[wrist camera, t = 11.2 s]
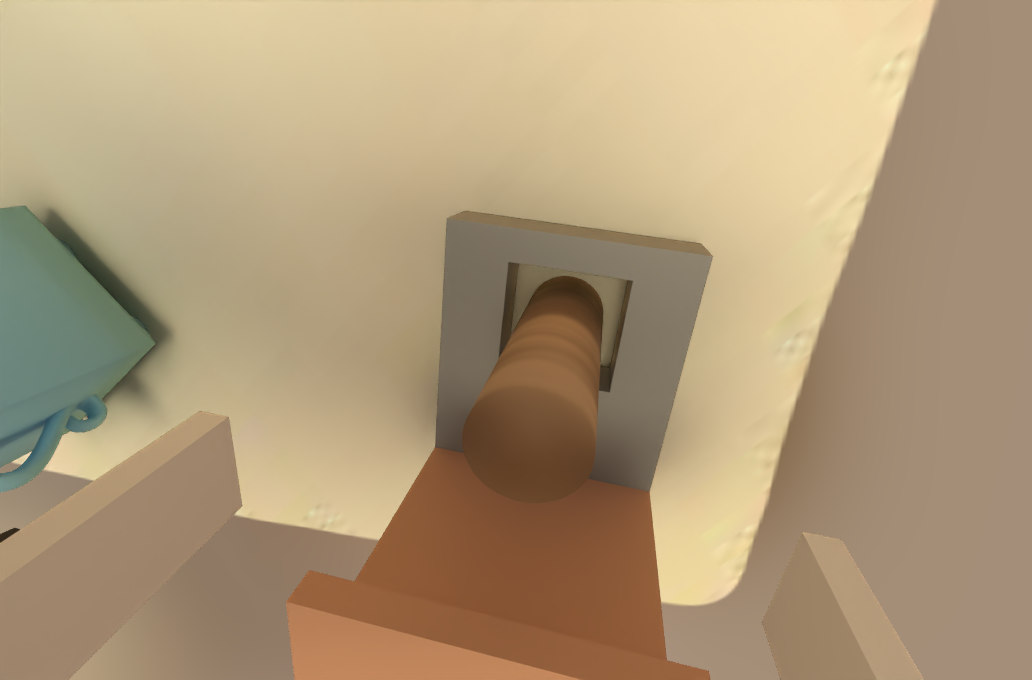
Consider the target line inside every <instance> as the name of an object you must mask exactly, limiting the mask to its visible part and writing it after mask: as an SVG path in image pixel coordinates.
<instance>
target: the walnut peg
mask: <svg viewBox="0 0 1032 680" xmlns="http://www.w3.org/2000/svg"><path fill="white" fill-rule="evenodd" d="M602 324H603V306H602V302H601V299H600V297H599V295H598V293H597V292H596V291H595V289H594V288H593V287H592V286H591V285H589V284H588V283H587V282H585V281H583V280H581V279H578V278H575V277H570V276H561V277H556V278H552V279H550V280H548V281H546V282H544V283H543V284H542V285H541V286H540V287H539V288H538V289H537V290H536V291H535V293H534V294H533V296H532V298H531V300H530V302H529V304H528V306H527V307H526V309H525V311H524V313H523V315H522V317H521V319H520V320H519V322H518V324H517V326H516V328H515V330H514V332H513V333H512V335H511V337H510V339H509V341H508V343H507V345H506V346H505V348H504V350H503V352H502V354H501V356H500V358H499V359H498V361H497V363H496V365H495V367H494V369H493V370H492V372H491V374H490V376H489V378H488V380H487V382H486V383H485V385H484V387H483V389H482V391H481V393H480V395H479V396H478V398H477V400H476V402H475V404H474V406H473V408H472V409H471V411H470V413H469V415H468V417H467V419H466V421H465V424H464V427H463V433H462V445H463V451H464V455H465V458H466V460H467V462H468V464H469V466H470V468H471V469H472V471H473V472H474V474H475V475H476V476H477V477H478V478H479V479H480V480H481V481H482V482H483V483H484V484H485V485H486V486H487V487H489V488H490V489H492V490H493V491H495V492H496V493H498V494H500V495H502V496H504V497H507V498H509V499H512V500H516V501H520V502H526V503H546V502H552V501H556V500H559V499H562V498H564V497H567V496H568V495H570V494H572V493H573V492H575V491H576V490H577V489H579V488H580V487H581V486H582V485H583V484H584V482H585V481H586V480H587V478H588V477H589V475H590V473H591V471H592V468H593V465H594V461H595V452H596V433H597V415H598V397H599V379H600V361H601V342H602Z"/></svg>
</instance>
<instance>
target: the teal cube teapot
mask: <svg viewBox="0 0 1032 680" xmlns="http://www.w3.org/2000/svg"><path fill="white" fill-rule="evenodd" d="M155 344H156V342H155V341H154V340H153V339H152V337H151V336H150V335H149V333H148V330H147V329H146V327H145V326H144V324H143V323H142V322H141V321H140V320H138V319H137V318H135V317H133V316H130V315H129V313H128V312H127V311H126V310H125V309H124V308H123V307H122V306H121V305H120V304H119V303H118V302H117V301H116V300H115V299H114V298H113V297H112V296H111V295H110V294H109V293H108V292H107V291H106V290H105V288H104V287H103V286H102V285H101V284H100V283H99V282H98V281H97V280H96V279H95V278H94V277H93V276H92V275H91V274H90V273H89V272H88V271H87V270H86V269H85V268H84V267H83V266H82V264H81V263H80V262H79V261H78V260H77V259H76V257H75V254H74V253H73V251H72V249H71V248H70V247H69V246H68V245H67V244H66V243H65V242H63V241H62V240H60V239H57V238H56V237H55V236H54V235H53V234H52V233H51V232H50V231H49V230H48V229H47V228H46V227H45V226H44V225H43V224H42V223H41V222H40V221H39V220H38V219H37V217H36V216H35V215H34V214H33V213H32V212H31V211H30V210H29V209H28V208H27V207H26V206H20V207H9V208H0V467H2V466H4V465H6V464H8V463H10V462H12V461H14V460H16V459H17V458H19V457H21V456H23V455H25V454H27V453H29V452H31V451H32V453H31V454H30V456H29V457H28V458H27V460H26V461H25V462H24V463H23V464H22V465H21V466H20V467H19V468H17V469H16V470H14V471H12V472H7V473H0V492H5V491H9V490H12V489H15V488H18V487H20V486H22V485H24V484H26V483H27V482H29V481H31V480H32V479H33V478H35V477H36V476H37V475H38V474H39V473H40V472H41V471H42V470H43V469H44V467H45V466H46V465H47V464H48V462H49V461H50V459H51V457H52V456H53V454H54V452H55V450H56V448H57V446H58V444H59V441H60V439H61V437H62V435H64V434H66V433H68V432H70V431H72V432H86V431H90V430H92V429H95V428H96V427H98V426H99V425H100V424H101V423H102V422H103V421H104V420H105V418H106V415H107V408H106V405H105V404H104V402H103V401H102V399H103V398H104V397H105V396H106V395H107V394H108V393H109V392H110V391H111V390H112V388H113V387H114V386H115V385H116V384H117V383H118V382H119V381H120V380H121V379H122V378H123V377H124V376H125V375H126V374H127V373H128V372H129V371H130V370H131V369H132V368H133V367H134V366H135V365H136V364H137V363H138V362H139V361H140V360H141V359H142V358H143V357H144V356H145V355H146V353H147V352H148V351H149V350H150V349H151V348H152V347H153V346H154V345H155ZM86 415H87V417H88V419H87V420H82V419H83V418H84V417H85V416H86Z"/></svg>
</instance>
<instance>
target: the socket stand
mask: <svg viewBox="0 0 1032 680" xmlns="http://www.w3.org/2000/svg"><path fill="white" fill-rule="evenodd" d="M712 257H713V256H712V255H711V254H710V253H709V252H708V251H707V250H706V248H705V247H704V246H703V245H702V244H699V243H692V242H685V241H677V240H670V239H663V238H656V237H649V236H642V235H634V234H627V233H620V232H613V231H606V230H599V229H592V228H584V227H577V226H570V225H563V224H556V223H549V222H541V221H534V220H527V219H520V218H513V217H506V216H498V215H491V214H484V213H477V212H470V211H464V212H461V213H459V214H456V215H454V216H452V217H449V218H447V229H446V248H445V267H444V287H443V306H442V325H441V345H440V364H439V384H438V403H437V422H436V442H435V448H434V450H433V452H432V453H431V455H430V457H429V458H428V460H427V462H426V463H425V465H424V467H423V468H422V470H421V472H420V473H419V475H418V477H417V478H416V480H415V482H414V483H413V485H412V487H411V488H410V490H409V492H408V493H407V495H406V497H405V498H404V500H403V502H402V503H401V505H400V507H399V508H398V510H397V512H396V513H395V515H394V517H393V518H392V520H391V522H390V523H389V525H388V527H387V528H386V530H385V532H384V533H383V535H382V537H381V538H380V540H379V542H378V543H377V545H376V547H375V548H374V550H373V552H372V553H371V555H370V557H369V558H368V560H367V562H366V563H365V565H364V567H363V568H362V570H361V572H360V573H359V575H358V577H357V578H356V580H355V582H354V581H350V580H346V579H342V578H338V577H334V576H330V575H327V574H323V573H319V572H314V571H311V570H310V571H308V573H307V574H306V575H305V577H304V578H303V580H302V581H301V582H300V584H299V585H298V587H297V588H296V589H295V591H294V592H293V593H292V595H291V596H290V597H289V599H288V600H287V602H286V604H287V613H288V622H289V632H290V641H291V650H292V659H293V669H294V677H295V680H710V675H709V671H707V670H702V669H699V668H694V667H690V666H687V665H682V664H679V663H675V662H671V661H667V658H666V648H665V638H664V629H663V619H662V609H661V599H660V589H659V580H658V570H657V560H656V551H655V541H654V531H653V521H652V512H651V502H650V492H649V491H650V488H651V484H652V480H653V477H654V473H655V469H656V465H657V462H658V458H659V454H660V451H661V447H662V443H663V439H664V436H665V432H666V428H667V424H668V421H669V417H670V413H671V410H672V406H673V402H674V398H675V395H676V391H677V387H678V384H679V380H680V376H681V372H682V369H683V365H684V361H685V358H686V354H687V350H688V346H689V343H690V339H691V335H692V331H693V328H694V324H695V320H696V317H697V313H698V309H699V305H700V302H701V298H702V294H703V291H704V287H705V283H706V279H707V276H708V272H709V268H710V265H711V261H712ZM518 263H519V264H525V265H532V266H538V267H545V268H551V269H558V270H565V271H571V272H578V273H584V274H591V275H597V276H604V277H611V278H617V279H624V280H628V283H627V288H626V293H625V298H624V303H623V307H622V312H621V317H620V322H619V327H618V332H617V337H616V342H615V347H614V352H613V356H612V361H611V366H610V368H608V367H603V366H600V379H599V397H598V415H597V433H596V452H595V461H594V465H593V468H592V471H591V473H590V475H589V477H588V478H587V480H586V481H585V482H584V484H583V485H582V486H581V487H580V488H579V489H577V490H576V491H575V492H573V493H572V494H570V495H568V496H567V497H564V498H562V499H559V500H556V501H552V502H546V503H526V502H520V501H516V500H512V499H509V498H507V497H504V496H502V495H500V494H498V493H496V492H495V491H493V490H492V489H490V488H489V487H487V486H486V485H485V484H484V483H483V482H482V481H481V480H480V479H479V478H478V477H477V476H476V475H475V474H474V472H473V471H472V469H471V468H470V466H469V464H468V462H467V460H466V458H465V455H464V451H463V445H462V433H463V427H464V424H465V421H466V419H467V417H468V415H469V413H470V411H471V409H472V408H473V406H474V404H475V402H476V400H477V398H478V396H479V395H480V393H481V391H482V389H483V387H484V385H485V383H486V382H487V380H488V378H489V376H490V374H491V372H492V370H493V369H494V367H495V365H496V363H497V361H498V359H499V358H500V356H501V354H502V352H503V350H504V348H505V346H506V345H507V343H508V341H509V339H510V334H511V325H512V316H513V307H514V298H515V289H516V280H517V271H518Z"/></svg>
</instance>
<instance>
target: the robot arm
mask: <svg viewBox="0 0 1032 680" xmlns="http://www.w3.org/2000/svg"><path fill="white" fill-rule="evenodd" d="M241 507H242V501H241V494H240V488H239V481H238V474H237V468H236V461H235V455H234V448H233V442H232V435H231V428H230V422H229V417H227V416H222V415H217V414H212V413H207V412H202V411H199V412H198V413H196V414H195V415H193V416H192V417H190V418H189V419H187V420H186V421H184V422H182V423H181V424H179V425H178V426H176V427H175V428H173V429H172V430H170V431H169V432H167V433H166V434H164V435H163V436H161V437H160V438H158V439H157V440H155V441H154V442H152V443H151V444H149V445H148V446H146V447H145V448H143V449H142V450H140V451H139V452H137V453H136V454H134V455H133V456H131V457H130V458H128V459H127V460H125V461H123V462H122V463H120V464H119V465H117V466H116V467H114V468H113V469H111V470H110V471H108V472H107V473H105V474H104V475H102V476H101V477H99V478H98V479H96V480H95V481H93V482H92V483H90V484H89V485H87V486H86V487H84V488H83V489H81V490H80V491H78V492H77V493H75V494H74V495H72V496H71V497H69V498H67V499H66V500H65V501H63V502H61V503H60V504H58V505H57V506H55V507H54V508H52V509H51V510H49V511H48V512H46V513H45V514H43V515H42V516H40V517H39V518H37V519H36V520H34V521H33V522H31V523H30V524H28V525H27V526H25V527H24V528H22V529H17V528H13V529H11V530H9V531H6V532H4V533H2V534H0V680H69V679H70V678H71V677H72V675H74V673H76V671H78V669H80V668H81V667H82V666H83V665H84V664H85V663H86V662H87V660H89V659H90V658H91V657H92V656H93V655H94V654H95V653H96V652H97V650H99V649H100V648H101V647H102V645H103V644H104V643H106V642H107V640H109V639H110V638H111V637H112V636H113V635H114V634H115V633H116V632H117V631H118V630H119V628H121V627H122V626H123V625H124V624H125V623H126V621H128V620H129V619H130V618H131V617H132V616H133V615H134V614H135V613H136V612H137V611H138V610H139V609H140V608H141V607H142V606H143V605H144V604H145V603H146V601H148V600H149V599H150V598H151V597H152V596H153V595H154V594H155V593H156V592H157V591H158V590H159V589H160V588H161V587H162V586H163V585H164V584H165V583H166V582H167V581H168V580H169V579H170V578H171V577H172V576H173V575H174V574H175V573H176V572H177V571H178V570H179V569H180V568H181V567H182V566H183V565H184V564H185V563H186V562H187V561H188V560H189V559H190V558H191V557H192V556H193V555H194V553H196V552H197V551H198V550H199V549H200V548H201V547H202V546H203V545H204V544H205V543H206V542H207V541H208V540H209V539H210V538H211V537H212V536H213V535H214V534H215V533H216V532H217V531H218V530H219V529H220V528H221V527H222V526H223V525H224V524H225V523H226V521H228V520H229V519H230V518H231V517H232V516H233V515H234V514H235V513H236V512H237V511H238V510H239V509H240V508H241ZM762 624H763V627H764V631H765V634H766V637H767V640H768V643H769V646H770V649H771V652H772V655H773V658H774V661H775V665H776V668H777V671H778V674H779V677H780V680H924V679H923V677H922V675H921V674H920V672H919V671H918V669H917V667H916V665H915V664H914V662H913V660H912V659H911V657H910V655H909V653H908V652H907V650H906V648H905V647H904V645H903V643H902V642H901V640H900V638H899V636H898V635H897V633H896V631H895V630H894V628H893V626H892V625H891V623H890V621H889V620H888V618H887V616H886V615H885V613H884V611H883V609H882V608H881V606H880V604H879V603H878V601H877V599H876V598H875V596H874V594H873V592H872V591H871V589H870V587H869V586H868V584H867V582H866V581H865V579H864V577H863V576H862V574H861V572H860V570H859V569H858V567H857V565H856V564H855V562H854V560H853V559H852V557H851V555H850V554H849V552H848V550H847V548H846V547H845V545H844V543H843V542H842V540H841V539H836V538H830V537H825V536H820V535H816V534H810V533H806V532H802V534H801V536H800V538H799V541H798V543H797V545H796V547H795V549H794V552H793V554H792V556H791V559H790V561H789V563H788V565H787V567H786V569H785V572H784V574H783V576H782V578H781V581H780V583H779V585H778V587H777V589H776V592H775V594H774V596H773V598H772V601H771V603H770V605H769V607H768V610H767V612H766V614H765V616H764V619H763V621H762Z"/></svg>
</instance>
